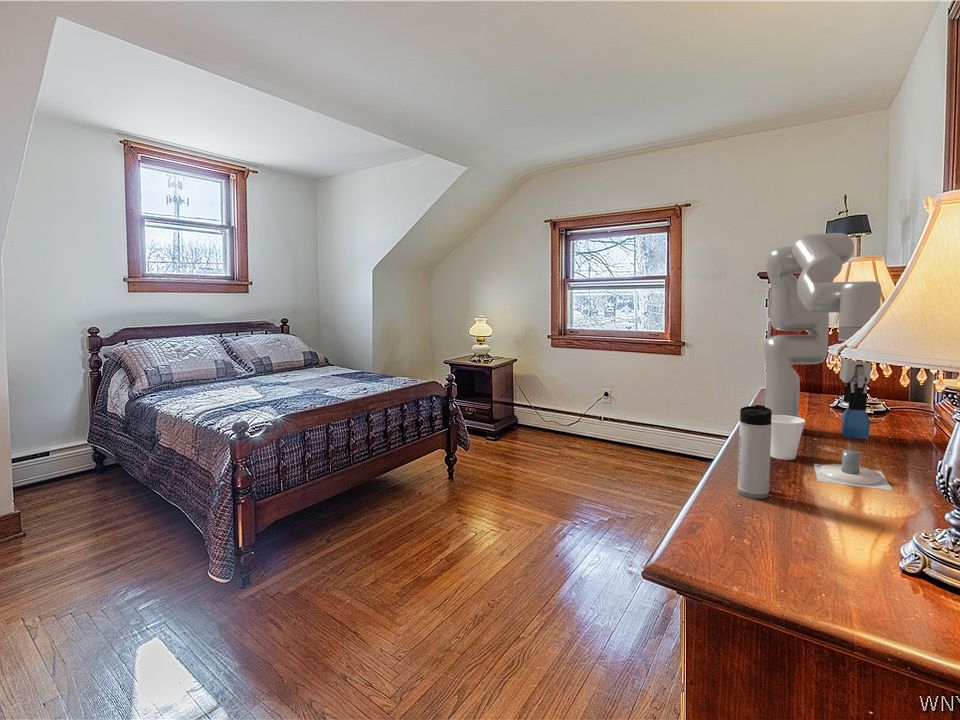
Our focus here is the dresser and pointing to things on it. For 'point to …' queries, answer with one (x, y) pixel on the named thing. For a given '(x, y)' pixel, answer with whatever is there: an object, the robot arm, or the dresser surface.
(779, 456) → the cup
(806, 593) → the dresser surface
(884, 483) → the mat
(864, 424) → the perfume bottle
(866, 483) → the lid
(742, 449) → the travel mug
